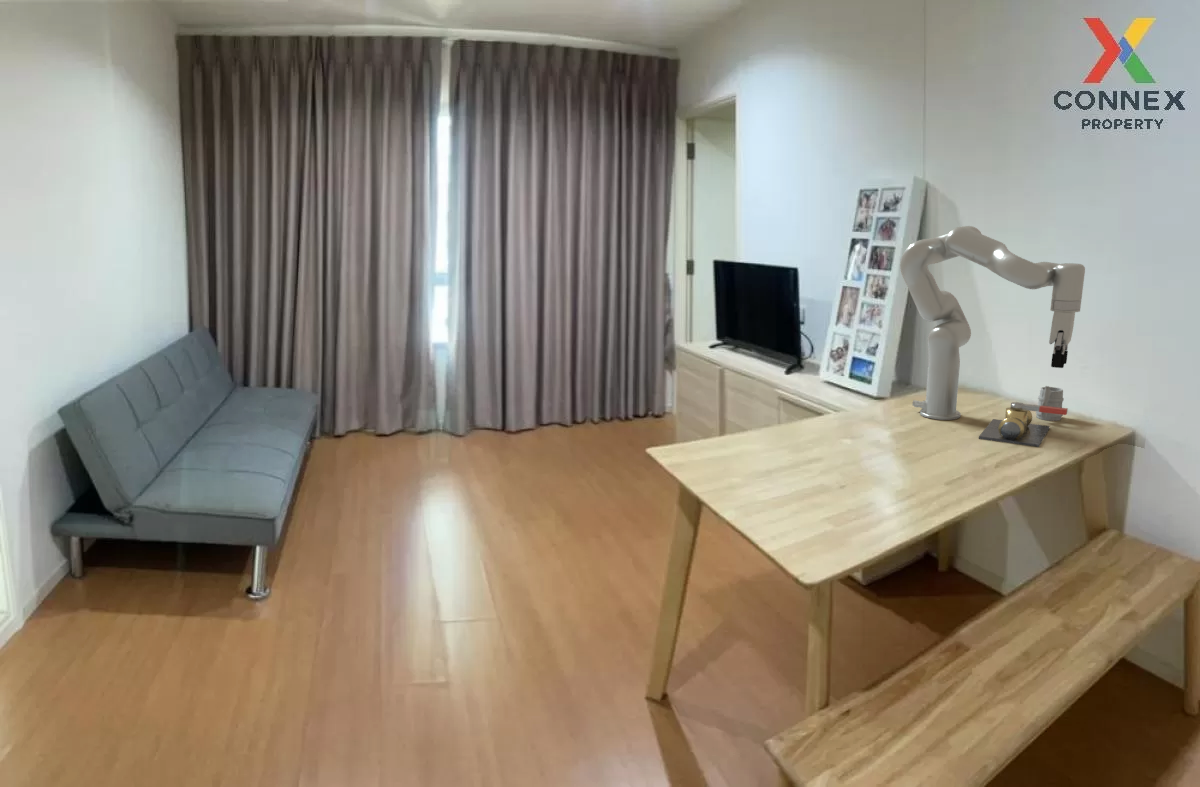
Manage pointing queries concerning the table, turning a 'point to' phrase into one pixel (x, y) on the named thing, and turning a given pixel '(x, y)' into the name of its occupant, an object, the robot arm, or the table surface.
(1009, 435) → the valve body
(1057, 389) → the mug
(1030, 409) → the lever
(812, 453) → the table surface
